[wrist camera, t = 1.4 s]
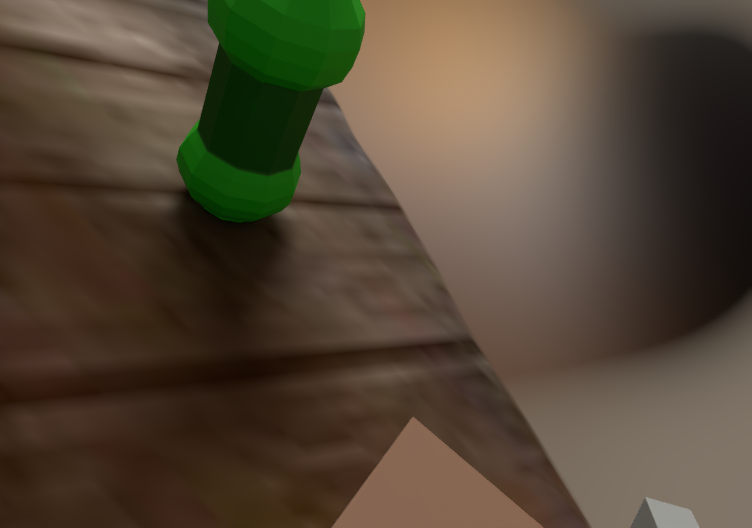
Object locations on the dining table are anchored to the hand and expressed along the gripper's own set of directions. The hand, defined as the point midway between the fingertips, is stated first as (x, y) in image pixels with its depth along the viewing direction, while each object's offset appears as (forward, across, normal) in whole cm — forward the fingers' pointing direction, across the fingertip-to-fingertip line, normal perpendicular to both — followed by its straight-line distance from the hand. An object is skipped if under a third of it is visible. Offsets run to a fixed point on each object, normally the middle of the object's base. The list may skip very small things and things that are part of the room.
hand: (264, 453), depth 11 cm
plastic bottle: (+38, -15, -8) cm, 41 cm away
